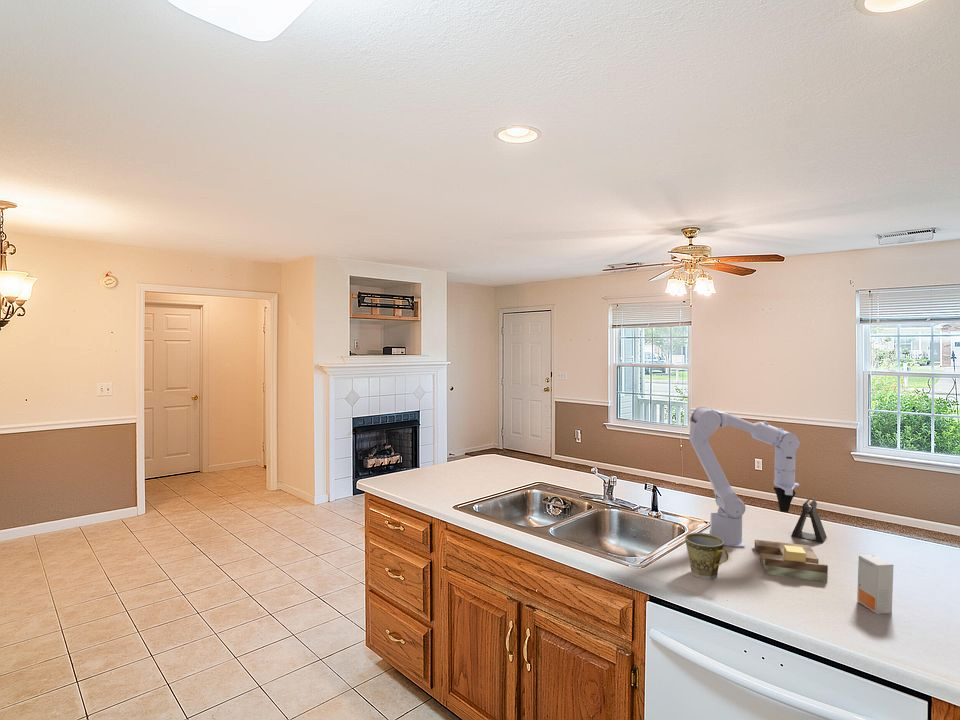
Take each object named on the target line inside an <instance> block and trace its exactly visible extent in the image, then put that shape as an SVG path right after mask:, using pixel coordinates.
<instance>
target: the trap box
mask: <svg viewBox="0 0 960 720" xmlns="http://www.w3.org/2000/svg"><path fill="white" fill-rule="evenodd" d="M784 545H787V546H796V547H802V548H803V549H804V551H805V553H806V562H798V561H790V560H784ZM754 550H755V552H756V554H759V562H760V564H761V567H762V571H763V572H764V575H772V576H780V577H787V578H795V579H801V580H803V579H804V580H810V581H817V582H825V583H828V578H829V577H828V575H829V573H828V571H829V564H823V563H819V562H820V561H819V558H818V556H817V554H816V553H815V551H814V549H812V546H811V545H806V544H799V543H792V542H791V543H790V542H782V541H781V542H779V541H772V540H771V541H770V540H763V539H754Z"/></svg>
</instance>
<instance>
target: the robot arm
mask: <svg viewBox="0 0 960 720" xmlns="http://www.w3.org/2000/svg"><path fill="white" fill-rule="evenodd" d="M689 424H690V426H689V436H688V437H689V442H690V444H691V446H692V448H693V450H694V451H695V454H696V456H697V458H698V460H699V462H700V464H701V466H702V468H703V470H704V472H705V474H706V476H707V478H708V480H709V482H710V484H711V485H712V487H713V494H714V496H715V497H714V499H715V504H716V505H717V507H718V509H717V512H711V513H710V524H709V526H710V529H709V534H711V535H715V536H717V537H720V538H721V539H723V541H724V546H729V547H737V548H745V546H746V545H745V543H744V540H743V516H744V514H745V513H746V509H747V508H746V504H745V502H744V501H743V500H742V499H741V498H740V497H738V495H737V493H736V491H735V490H734V489H733V488H732V486H731V485H730V482H729V480H728V478H727V477H726V474H725V473H724V470H723V469H722V466H721V464H720V463H719V461H718V459H717V456H716V454H715V453H714V450H713V449H712V447H711V444H710V443H709V440H710V438H711V436H712V434H713V433H715V432H716V431H717V429H719V427H721V428H724V427H727V426H730V427H732V428H736V429H739V430H742V431H744V432H747V433H750V436H751V437H752V439H754V440H757V441H760V442H762V443H765V444H767V445H770V446H774V472H773V474H774V475H773V476H774V477H773V478H774V480H773V485H774V487H773V490H774V492H775V495H776V498H777V503H778V508H779V512H781V513H789V510H790V507H791V503H792V500H793V499H794V497H795V495H796V494H797V493H796V491H795V488H796V487H797V488H799V487H800V483H798V482H796V455H797V454H796V451H797V450H798V449H799V448H800V445H801V442H800V441H799V438H798V437H797V435H796V434H794V433H791V432H790V431H787V430H785V429H784V428H783V427H776V426H773V425H770V423H769V422H767V421H764V420H763V421H757V422H754V423H752V422H750V421H748V420H745V419H743V418H741V417H738V416H735V415H733V414H730V413H727V412H725V411H722V410H717V409H712V408H710V409H709V408H708V407H706V406H699V407H696V408H695V409H694V410H693V412H692V414H691V416H690V417H689Z"/></svg>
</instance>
